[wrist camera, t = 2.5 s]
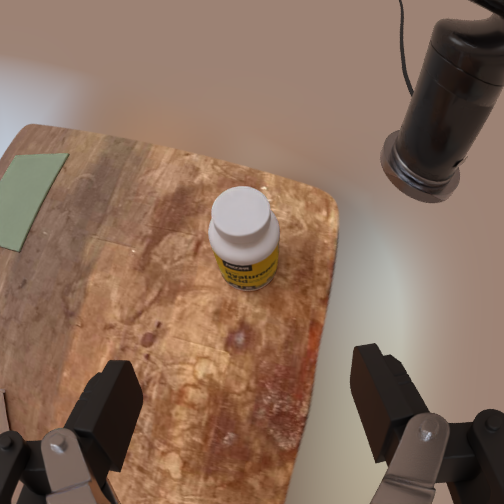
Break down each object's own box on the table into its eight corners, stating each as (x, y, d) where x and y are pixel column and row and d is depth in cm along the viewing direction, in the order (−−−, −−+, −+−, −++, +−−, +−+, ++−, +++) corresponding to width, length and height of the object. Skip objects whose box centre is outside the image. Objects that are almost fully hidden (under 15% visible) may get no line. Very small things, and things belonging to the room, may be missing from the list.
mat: (16, 156, 41) (15, 155, 40) (69, 154, 39) (68, 153, 39) (-27, 238, 34) (-28, 237, 34) (19, 252, 32) (18, 251, 32)
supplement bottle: (225, 297, 29) (204, 252, 20) (217, 245, 31) (196, 184, 22) (283, 286, 29) (288, 236, 20) (271, 235, 31) (271, 171, 22)
